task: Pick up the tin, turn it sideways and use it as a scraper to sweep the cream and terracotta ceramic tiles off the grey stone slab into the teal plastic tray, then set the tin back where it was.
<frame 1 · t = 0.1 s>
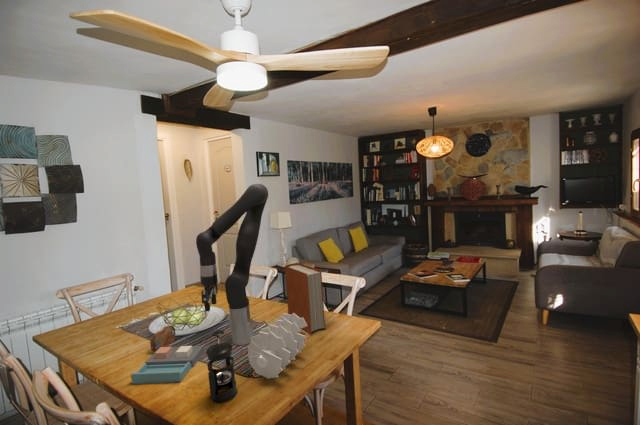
hand: (210, 307, 157), 17 cm above the table, tool pointing down, fingers open, 8 cm apart
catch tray: (162, 375, 133), on the table
grey stone slab: (176, 360, 144), on the table
french press: (223, 395, 118), on the table
terracotta tile: (164, 355, 143), point 3 cm above the table, touching grey stone slab
cream tile: (184, 354, 143), point 3 cm above the table, touching grey stone slab
tin: (164, 347, 158), on the table
book: (305, 325, 171), on the table
grey pine cone: (279, 365, 135), on the table
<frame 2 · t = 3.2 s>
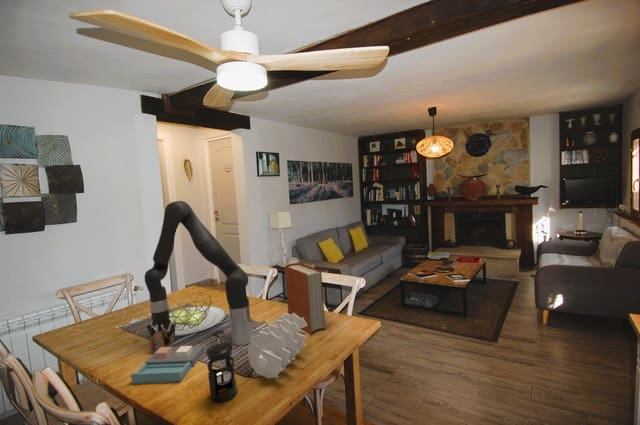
hand: (163, 344, 157), 1 cm above the table, tool pointing down, fingers closed on tin, 3 cm apart
tin: (163, 346, 158), on the table, touching gripper
everything else where it was.
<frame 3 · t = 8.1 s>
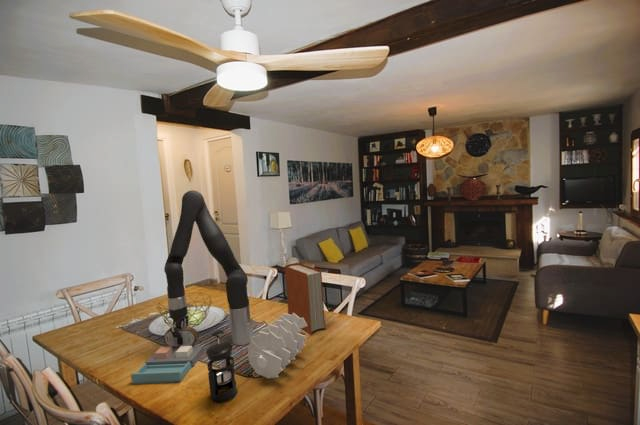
hand: (181, 342, 150), 5 cm above the table, tool pointing down, fingers closed on tin, 2 cm apart
tin: (181, 346, 150), point 3 cm above the table, touching grey stone slab, gripper
everything else where it was.
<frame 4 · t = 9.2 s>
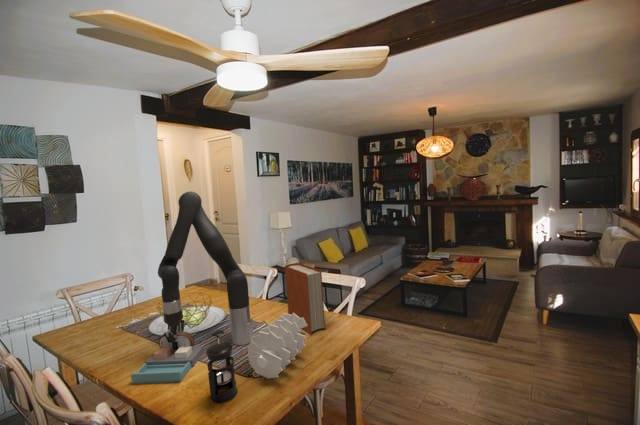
hand: (177, 347, 146), 5 cm above the table, tool pointing down, fingers closed on tin, 2 cm apart
terracotta tile: (163, 355, 143), point 3 cm above the table, touching tin
cream tile: (183, 355, 142), point 3 cm above the table
tin: (177, 351, 146), point 3 cm above the table, touching grey stone slab, gripper, terracotta tile
everything else where it was.
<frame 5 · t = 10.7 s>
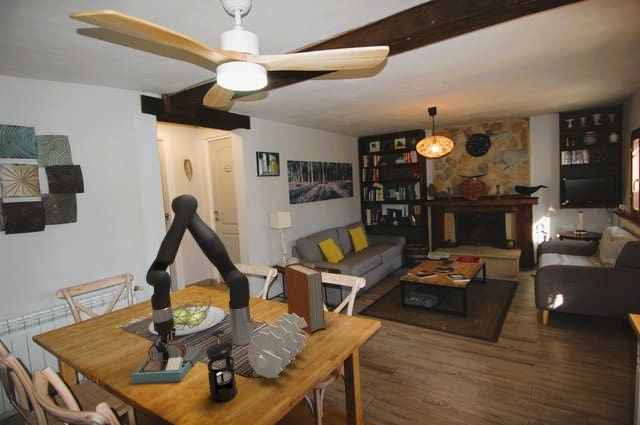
hand: (168, 357, 138), 5 cm above the table, tool pointing down, fingers closed on tin, 2 cm apart
terracotta tile: (154, 370, 135), point 1 cm above the table, tilted 12°
cream tile: (175, 366, 135), point 2 cm above the table, tilted 36°, touching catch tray
tin: (168, 361, 138), point 3 cm above the table, touching gripper
everything else where it was.
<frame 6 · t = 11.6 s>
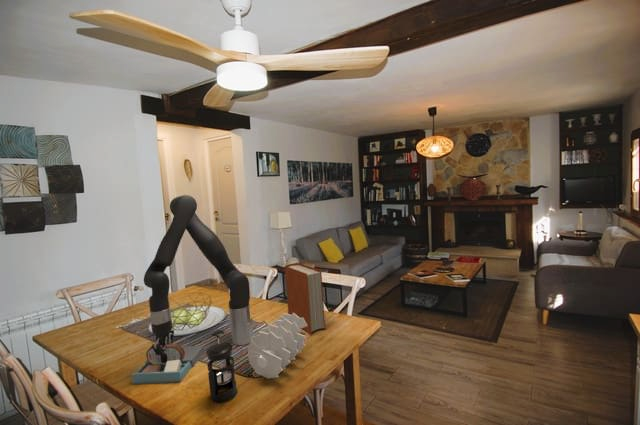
hand: (166, 360, 136), 5 cm above the table, tool pointing down, fingers closed on tin, 2 cm apart
terracotta tile: (151, 374, 133), point 1 cm above the table, touching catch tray, tin
cream tile: (173, 369, 133), point 2 cm above the table, tilted 31°, touching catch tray, tin
tin: (165, 365, 136), point 2 cm above the table, touching cream tile, gripper, terracotta tile
everything else where it was.
when the fingers open (2 cm above the table, at t = 17.7 s): tin stays where it is, on the table.
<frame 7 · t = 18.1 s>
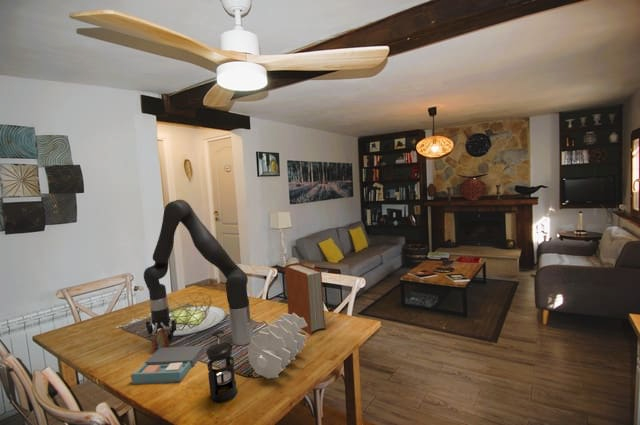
hand: (163, 341, 157), 3 cm above the table, tool pointing down, fingers open, 6 cm apart
terracotta tile: (151, 374, 133), point 1 cm above the table, touching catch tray
cream tile: (174, 372, 133), point 1 cm above the table, touching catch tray
tin: (164, 346, 158), on the table
everything else where it was.
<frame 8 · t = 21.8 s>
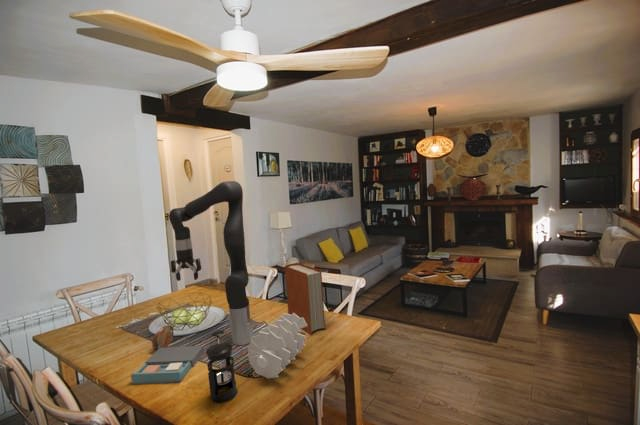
hand: (187, 279, 166), 28 cm above the table, tool pointing down, fingers open, 8 cm apart
nothing on the table moved.
at the end: cream tile inside the target area on the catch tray (4.6 cm from its centre), point 0.8 cm above the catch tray's base; terracotta tile inside the target area on the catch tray (4.3 cm from its centre), point 0.8 cm above the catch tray's base; tin tilted 0° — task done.
